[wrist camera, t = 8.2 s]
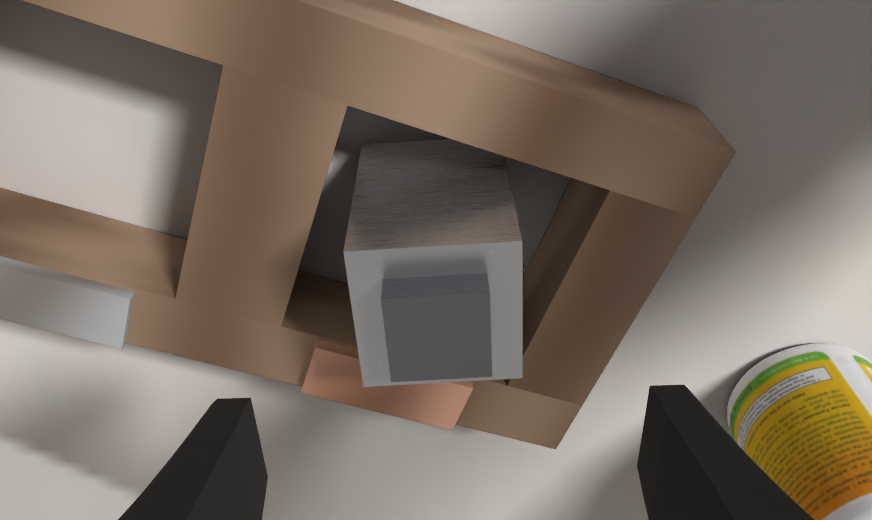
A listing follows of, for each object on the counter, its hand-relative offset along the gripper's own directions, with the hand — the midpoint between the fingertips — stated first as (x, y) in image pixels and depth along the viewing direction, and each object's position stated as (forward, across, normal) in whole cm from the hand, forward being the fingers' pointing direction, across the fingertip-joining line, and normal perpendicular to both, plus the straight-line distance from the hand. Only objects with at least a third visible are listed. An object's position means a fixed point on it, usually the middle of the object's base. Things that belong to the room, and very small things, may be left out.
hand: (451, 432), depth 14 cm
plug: (+10, 0, +1) cm, 10 cm away
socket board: (+10, +5, -1) cm, 11 cm away
